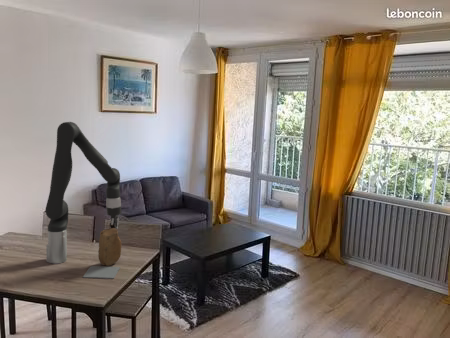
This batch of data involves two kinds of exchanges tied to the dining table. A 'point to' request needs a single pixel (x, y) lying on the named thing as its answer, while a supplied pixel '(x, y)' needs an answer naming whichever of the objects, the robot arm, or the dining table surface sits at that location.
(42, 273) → the dining table surface
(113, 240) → the brown rounded piece
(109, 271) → the mat
